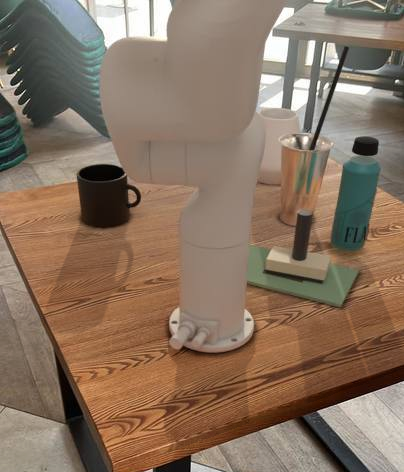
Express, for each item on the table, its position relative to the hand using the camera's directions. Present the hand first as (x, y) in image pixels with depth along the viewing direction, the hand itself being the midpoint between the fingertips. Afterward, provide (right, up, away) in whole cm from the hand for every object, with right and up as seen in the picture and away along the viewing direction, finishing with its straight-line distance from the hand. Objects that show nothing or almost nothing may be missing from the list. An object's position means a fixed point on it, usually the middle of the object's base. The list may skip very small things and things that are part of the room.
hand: (225, 42), depth 84 cm
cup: (+13, -5, +47) cm, 49 cm away
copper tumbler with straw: (+16, -18, +31) cm, 39 cm away
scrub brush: (+13, -32, +13) cm, 37 cm away
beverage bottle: (+23, -27, +21) cm, 41 cm away
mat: (+12, -32, +13) cm, 37 cm away
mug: (-21, -19, +29) cm, 41 cm away
